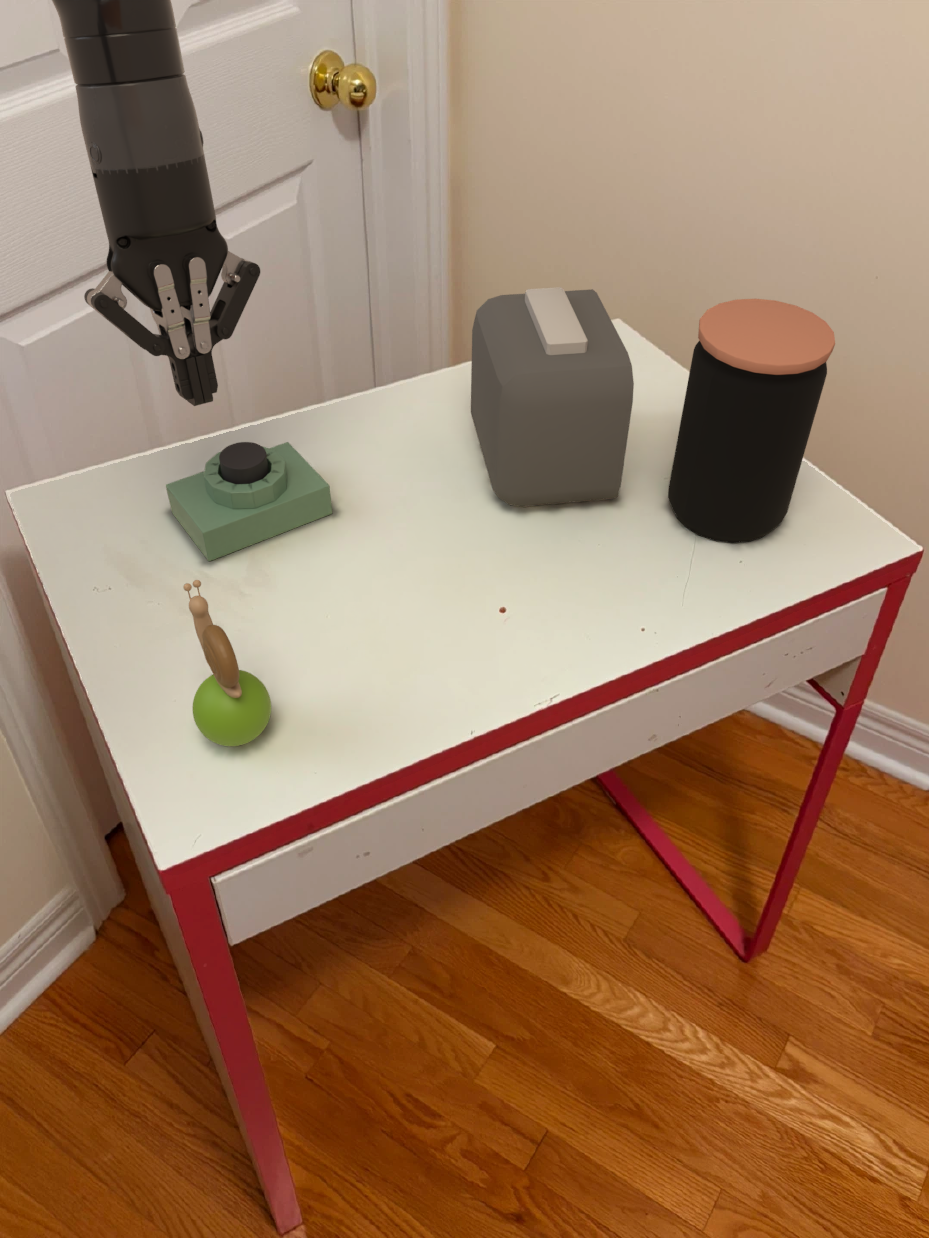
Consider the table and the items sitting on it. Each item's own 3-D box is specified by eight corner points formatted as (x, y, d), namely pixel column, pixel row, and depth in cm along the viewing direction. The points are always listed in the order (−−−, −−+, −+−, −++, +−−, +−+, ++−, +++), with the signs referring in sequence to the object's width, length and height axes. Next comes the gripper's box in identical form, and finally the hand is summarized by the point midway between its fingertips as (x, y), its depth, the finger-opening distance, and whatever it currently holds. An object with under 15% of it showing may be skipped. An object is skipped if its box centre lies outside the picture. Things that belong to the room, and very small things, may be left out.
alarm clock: (616, 511, 95) (638, 358, 84) (493, 522, 94) (500, 368, 83) (575, 412, 106) (590, 266, 96) (465, 421, 105) (467, 274, 94)
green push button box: (208, 562, 89) (199, 516, 86) (171, 513, 94) (161, 467, 91) (332, 513, 94) (328, 468, 91) (291, 469, 99) (285, 424, 95)
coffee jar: (809, 520, 94) (865, 339, 82) (723, 563, 90) (768, 379, 77) (725, 462, 101) (765, 286, 88) (641, 499, 96) (670, 320, 84)
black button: (234, 491, 89) (231, 474, 88) (214, 467, 91) (211, 451, 90) (276, 475, 91) (274, 459, 89) (256, 453, 93) (253, 436, 92)
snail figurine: (251, 685, 79) (227, 566, 71) (287, 741, 75) (267, 622, 67) (183, 713, 77) (150, 594, 69) (216, 773, 73) (187, 654, 65)
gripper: (217, 137, 76) (259, 369, 85) (33, 165, 70) (99, 411, 79) (259, 145, 71) (299, 392, 80) (63, 175, 65) (130, 438, 74)
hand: (199, 401), depth 80 cm, fingers closed
